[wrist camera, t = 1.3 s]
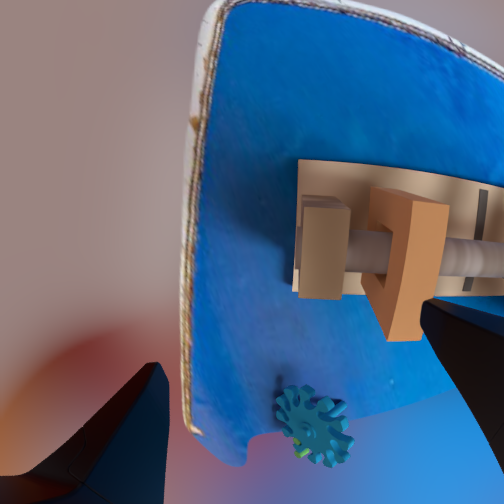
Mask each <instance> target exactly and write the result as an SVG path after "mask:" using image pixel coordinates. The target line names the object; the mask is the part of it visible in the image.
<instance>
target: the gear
mask: <svg viewBox="0 0 504 504" xmlns="http://www.w3.org/2000/svg"><path fill="white" fill-rule="evenodd" d="M284 393H285V394H283V395H281V396H279V397H277V399H276V402H277V403H278V405H280V406H281V407H282V408H281V409H279V410H277V412H276V417H277V418H278V419H279V420H280V421H283V422H285V423H286V424H287V425H286V426H285V427H283V428H282V431H283V434H284V436H286V437H294V438H293V441H294V444H293V446H294V448H295V449H296V451H295V452H294V454H295V456H296V457H297V458H301V457H303V456H304V455H305V454H307V453H308V452H309V449H311V451H312V452H313V453H311V454H310V455H308V459H309V460H310V461H311V462H313V463H314V464H316V463H318V462H319V461H320V460H321V459H322V456H321V453H322V454H323V455H324V456H325V459H324V460H323V464H324V465H325V466H327V467H330V468H332V467H334V466H335V465H336V464H337V463H343V462H345V461H346V460H347V459H348V458H350V454H349V453H348V452H347V450H348V449H349V448H350V447H352V446H353V444H354V441H355V440H354V439H353V438H352V437H351V436H347V435H344V434H342V433H341V432H343V431H344V430H345V429H347V428H348V427H349V423H348V420H347V417H346V416H343V415H342V416H339V417H335V416H337V415H338V414H339V413H341V412H342V411H343V410H344V409H346V408H347V404H346V402H344V401H340V402H339V403H338V404H336V405H334V403H333V401H332V400H331V399H330V398H329V397H328V396H325V397H323V398H322V399H321V400H319V401H318V402H317V406H314V405H312V404H311V402H310V398H311V397H313V396H314V395H315V390H314V389H313V388H312V387H310V386H308V385H305V386H303V387H301V388H300V389H298V387H297V386H295V385H290V386H288V387H286V388H284ZM298 394H299V395H300V401H299V400H298ZM308 448H309V449H308ZM333 453H334V454H333Z"/></svg>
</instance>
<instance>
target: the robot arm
mask: <svg viewBox="0 0 504 504" xmlns="http://www.w3.org/2000/svg"><path fill="white" fill-rule="evenodd" d="M420 326H421V328H422V330H423V332H424V333H425V335H426V337H427V339H428V341H429V343H430V344H431V346H432V348H433V350H434V352H435V354H436V356H437V357H438V359H439V361H440V362H441V364H442V365H443V367H444V368H445V370H446V371H447V373H448V374H449V376H450V378H451V379H452V381H453V382H454V384H455V385H456V387H457V389H458V390H459V392H460V393H461V395H462V397H463V398H464V400H465V402H466V403H467V405H468V407H469V408H470V410H471V412H472V413H473V415H474V417H475V419H476V421H477V422H478V424H479V426H480V428H481V430H482V431H483V433H484V435H485V437H486V439H487V441H488V442H489V445H490V447H491V449H492V451H493V453H494V454H495V457H496V459H497V461H498V463H499V465H500V467H501V469H502V471H503V474H504V317H501V316H497V315H494V314H490V313H487V312H483V311H479V310H476V309H472V308H468V307H465V306H461V305H457V304H454V303H450V302H446V301H443V300H439V299H435V298H430V299H428V300H425V301H423V303H422V307H421V314H420ZM169 413H170V411H169V381H168V379H167V376H166V375H165V373H164V370H163V368H162V366H161V364H160V363H158V362H149V363H146V364H145V365H144V366H143V367H142V368H141V369H140V370H139V371H138V372H137V373H136V374H135V375H134V376H133V377H132V378H131V379H130V380H129V381H128V382H127V383H126V384H125V385H124V386H123V387H122V388H121V389H120V390H119V391H118V392H117V393H116V394H115V395H114V396H113V397H112V398H111V399H110V400H109V401H108V402H107V403H106V404H105V405H104V406H103V407H102V408H100V409H99V410H98V411H97V412H96V413H95V414H94V415H93V416H92V417H91V418H90V420H88V421H87V422H86V423H85V424H84V425H83V427H81V428H80V429H79V430H78V431H77V432H76V433H75V434H74V435H73V436H72V437H71V438H70V439H69V440H67V441H66V443H64V444H63V445H62V446H61V447H59V448H58V449H57V450H56V451H55V452H54V453H52V454H51V455H50V456H49V457H47V458H46V459H45V460H43V461H42V462H41V463H39V464H38V465H37V466H36V467H34V468H33V469H32V470H30V471H29V472H26V473H24V474H21V475H15V476H0V504H163V503H164V486H165V472H166V459H167V448H168V437H169V425H170V417H169V416H170V414H169Z"/></svg>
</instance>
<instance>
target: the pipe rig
mask: <svg viewBox="0 0 504 504" xmlns="http://www.w3.org/2000/svg"><path fill="white" fill-rule="evenodd" d="M371 187H381V188H391V189H398V190H402V191H405V192H409V193H412V194H415V195H419V196H422V197H425V198H428V199H431V200H435V201H438V202H441V203H444V204H447V205H450V207H449V216H448V224H447V231H446V238H445V244H444V250H443V255H442V260H441V265H440V270H439V275H438V279H437V284H436V288H435V292H434V296H503V295H504V188H500V187H496V186H492V185H488V184H484V183H479V182H475V181H470V180H465V179H460V178H455V177H450V176H445V175H439V174H433V173H427V172H421V171H414V170H408V169H400V168H393V167H385V166H376V165H367V164H357V163H346V162H334V161H319V160H301V159H298V191H297V217H296V239H295V257H294V273H293V289H292V291H294V292H298V298H310V299H330V300H341V296H342V294H358V295H366V294H365V292H364V289H363V287H362V285H361V283H360V282H361V275H362V273H379V274H387V271H388V264H389V258H390V251H391V244H392V237H393V233H392V232H379V231H367V226H368V216H369V203H370V189H371Z"/></svg>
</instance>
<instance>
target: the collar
mask: <svg viewBox="0 0 504 504" xmlns="http://www.w3.org/2000/svg"><path fill="white" fill-rule="evenodd" d="M449 207H450V205H447V204H444V203H441V202H438V201H435V200H431V199H428V198H425V197H422V196H419V195H415V194H412V193H409V192H405V191H402V190H398V189H391V188H381V187H371V189H370V203H369V216H368V226H367V231H379V232H392V233H393V237H392V244H391V251H390V258H389V264H388V271H387V274H379V273H362V275H361V282H360V283H361V285H362V287H363V289H364V292H365V294H366V296H367V298H368V300H369V302H370V304H371V306H372V308H373V311H374V313H375V315H376V317H377V319H378V322H379V324H380V326H381V328H382V331H383V333H384V335H385V338H386V340H387V341H418V340H421V337H422V334H423V330H422V328H421V326H420V314H421V307H422V303H423V301H425V300H428V299H430V298H433V296H434V292H435V288H436V284H437V279H438V275H439V270H440V265H441V260H442V255H443V250H444V244H445V238H446V231H447V224H448V216H449Z"/></svg>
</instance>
